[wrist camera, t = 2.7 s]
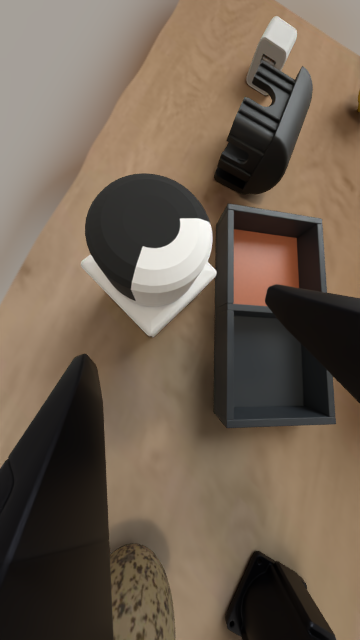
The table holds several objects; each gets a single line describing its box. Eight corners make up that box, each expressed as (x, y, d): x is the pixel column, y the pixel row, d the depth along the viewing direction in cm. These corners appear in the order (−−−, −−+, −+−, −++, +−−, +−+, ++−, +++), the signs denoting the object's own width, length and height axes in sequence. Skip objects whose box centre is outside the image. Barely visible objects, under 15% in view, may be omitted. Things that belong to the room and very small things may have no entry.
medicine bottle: (105, 291, 19) (23, 207, 7) (154, 251, 20) (155, 122, 8) (151, 339, 19) (148, 336, 7) (196, 295, 20) (258, 233, 8)
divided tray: (305, 410, 21) (336, 424, 17) (213, 412, 19) (226, 428, 15) (297, 236, 23) (322, 218, 20) (215, 224, 22) (227, 203, 18)
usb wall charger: (244, 82, 25) (261, 34, 21) (260, 52, 26) (279, 1, 22) (268, 97, 25) (289, 53, 21) (283, 67, 27) (305, 19, 23)
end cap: (259, 207, 23) (302, 152, 16) (211, 181, 22) (235, 114, 16) (280, 150, 25) (328, 80, 18) (236, 125, 24) (268, 42, 17)
